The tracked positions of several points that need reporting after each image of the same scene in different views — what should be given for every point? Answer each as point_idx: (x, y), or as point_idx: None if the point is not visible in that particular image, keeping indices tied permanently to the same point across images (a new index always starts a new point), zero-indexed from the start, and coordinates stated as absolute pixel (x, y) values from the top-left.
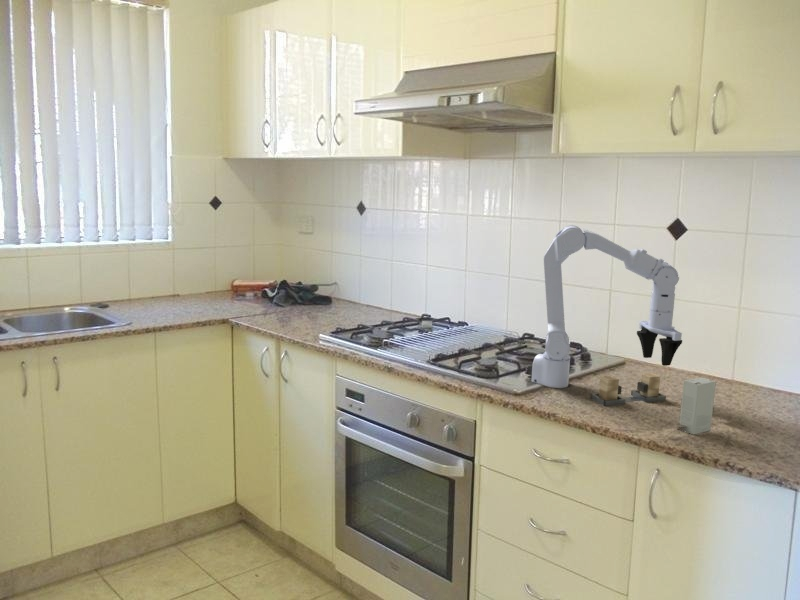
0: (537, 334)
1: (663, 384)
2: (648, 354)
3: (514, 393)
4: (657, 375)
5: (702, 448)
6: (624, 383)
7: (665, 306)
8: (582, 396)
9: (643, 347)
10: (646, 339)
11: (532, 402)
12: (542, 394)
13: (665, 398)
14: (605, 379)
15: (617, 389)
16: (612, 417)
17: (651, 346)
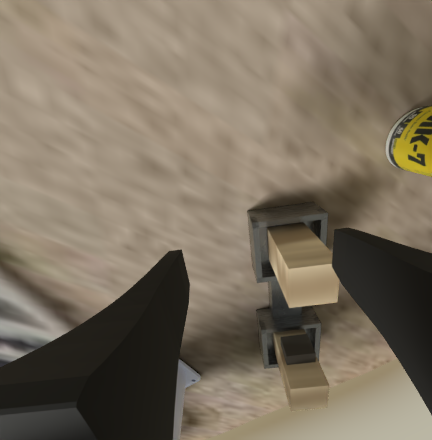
0: None
1: (88, 72)
2: (182, 278)
3: (185, 423)
4: (325, 265)
5: None
6: (95, 213)
7: None
8: (210, 343)
9: (178, 343)
10: (166, 395)
11: (235, 413)
12: (192, 394)
13: (324, 211)
14: (315, 407)
15: (316, 357)
16: (342, 338)
17: (165, 299)
